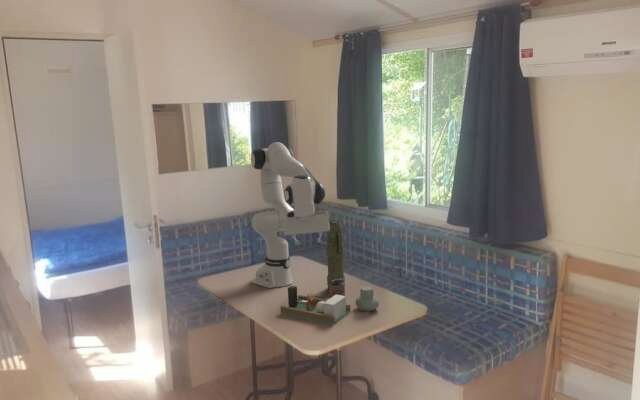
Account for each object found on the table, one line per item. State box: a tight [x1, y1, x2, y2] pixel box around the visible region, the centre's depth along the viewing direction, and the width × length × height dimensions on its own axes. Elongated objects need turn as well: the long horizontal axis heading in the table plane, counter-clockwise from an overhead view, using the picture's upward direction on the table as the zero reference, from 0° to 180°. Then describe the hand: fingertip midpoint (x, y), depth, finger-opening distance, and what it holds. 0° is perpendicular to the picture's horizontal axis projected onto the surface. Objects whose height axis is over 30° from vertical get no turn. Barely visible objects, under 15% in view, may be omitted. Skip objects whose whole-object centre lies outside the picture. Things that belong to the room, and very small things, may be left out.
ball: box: [316, 301, 324, 313], centre depth 229 cm, size 5×5×5 cm
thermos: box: [325, 220, 346, 292], centre depth 257 cm, size 9×12×35 cm
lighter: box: [328, 279, 346, 300], centre depth 246 cm, size 8×3×10 cm, turn 105°
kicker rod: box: [287, 285, 316, 311], centre depth 234 cm, size 12×5×9 cm, turn 60°
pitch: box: [280, 294, 351, 326], centre depth 230 cm, size 27×16×8 cm, turn 60°
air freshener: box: [355, 285, 380, 312], centre depth 233 cm, size 11×8×10 cm
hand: (308, 243), depth 223 cm, fingers open, 8 cm apart
